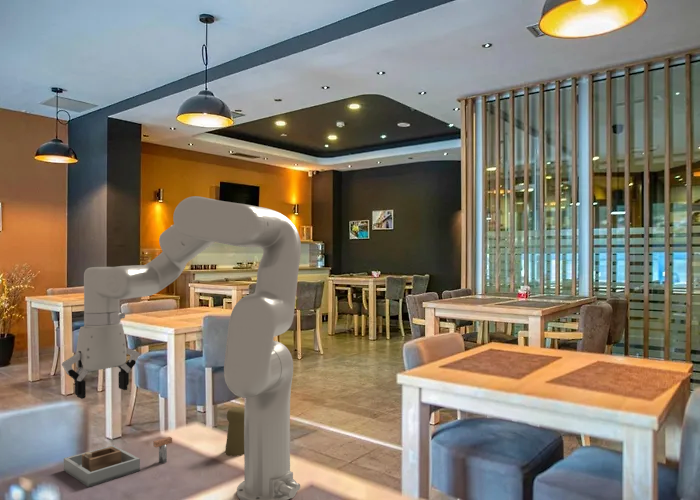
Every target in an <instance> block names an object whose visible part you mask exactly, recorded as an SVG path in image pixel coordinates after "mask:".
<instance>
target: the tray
mask: <svg viewBox="0 0 700 500" xmlns="http://www.w3.org/2000/svg"><path fill="white" fill-rule="evenodd" d="M108 447H114V448H116V449H118V450H120V451H121V463H119V464H116V465H112V466H109V467H106V468H102V469H99V470H96V471H92V472H90V471H88V470H87V469H85V468H83V467H82V454H85V453H86V452H82V453H79V454H75V455H71V456H69V457H64V458H63V471H64V472H65V473H67V474H68V475H70V476H71V477H73V478H74V479H76V480H77V481H78V482H80V483H82V485H84V486H86V487H88V488H90V487H93V486H96V485H99V484H103V483H106V482H109V481H112V480H115V479H118V478H121V477H124V476H128V475H131V474H134V473H137V472H140V471H141V458H140V457H137V456H136V455H134V454H132V453H130V452H128V451H126V450H124V449H122V448H120V447H118V446H116V445H114V444H111V445H108V446H105V447H101V448H97V449H93V450H90V451H88V452H93V451H97V450H101V449H104V448H108Z"/></svg>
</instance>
